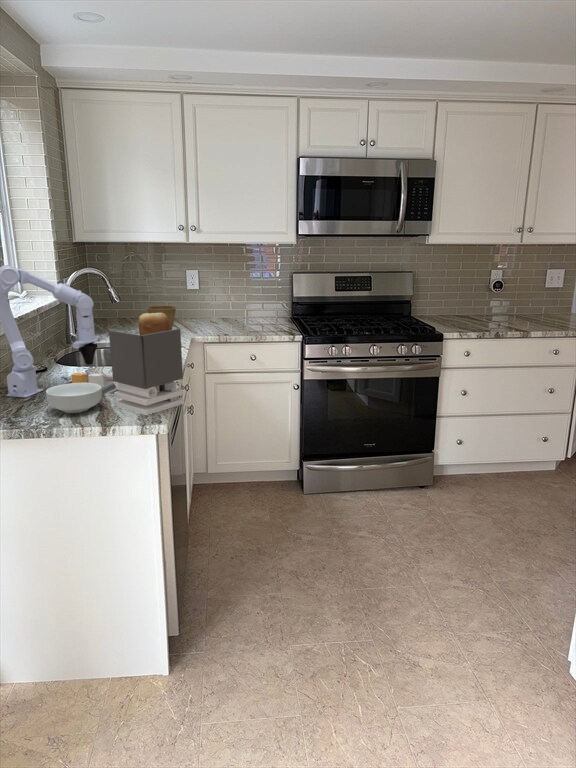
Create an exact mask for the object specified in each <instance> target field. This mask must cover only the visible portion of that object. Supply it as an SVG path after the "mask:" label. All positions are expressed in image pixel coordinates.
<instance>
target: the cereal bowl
mask: <svg viewBox="0 0 576 768" xmlns="http://www.w3.org/2000/svg"><path fill="white" fill-rule="evenodd" d="M102 395H103V394H102V387H101V386H100V385H98V384H94V383H70V384H66V383H63V384H58V385H55V386H51V387H49V388H47V389H46V391H45V396H46V397H45V398H46V401H47V403H48V404H49V405H50V407H52V408H53V409H55V410H58V411H62V412H63V413H66V414H78V413H83V411H84V412H86V411H88V410H89V409H91V408H92V407H94V406H96V405H98V403H100V402H101V400H102V399H101V398H102Z"/></svg>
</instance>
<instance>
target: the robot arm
mask: <svg viewBox="0 0 576 768" xmlns="http://www.w3.org/2000/svg"><path fill="white" fill-rule="evenodd" d="M18 283H19V284H21V285H22V284H23V285H24V284H30V285H33V286H35V287H37V288H40V289H43V290H44V291H47V292H50V293H51V294H52V295H53V298H54V299H56V300H58V301H60V302H62V303H65V304H67V305H70V306H74V307H75V310H76V312H75V313H76V316H75V318H76V329H77V336H78V337H77V338H78V339H77V340H75V341H74V342H73V343H72V348H73V349H76V350H77V349H78V351H79V352H80V354H81V355H82V358H83V360H84V364H85V365H93V364H94V358H95V353H96V350H97V348H98V344H97V343H98V342H101V341H102V340H101V336H100V335H96V334H95V323H94V314H93V308H94V305H95V304H94V302H93V301H94V300H93V299H92V297H91V296H89V295H88V294H86V293H85V292H82V290H80V289H78V290H77V289H74V288H73V287H70V286H69V284H68V283H65V282H64V283H57V284H56V283H55V284H54V283H53V282H51V281H50V280H49V281H48V280H46V279H45V278H43V277H40V276H39V275H36V274H34V273H32V272H30V271H28V270H24V269H21V268H18V267H16V268H15V267H14V266H12V265H9V264H5V265H1V266H0V325H1V327H2V329H3V332H4V334H5V337H6V339H7V341H8V344H9V347H10V349H11V360H12V362H13V366H12V369H11V372H10V373H8V375H7V376H6V383H7V391H8V392H7V393H8V394H6V396H7V397H14V398H17V397H18V398H29V397H31V396H33V395H36V394H38V393H40V392H42V391H44V389H43V388H38V382H37V374H36V366H35V365H34V361H35V360H34V357H33V355H32V353H31V351H30V350H29V349H28V348H26V344H25V342H24V340H23V337H22V334H21V333H20V329H19V327H18V324H17V321H16V319H15V316H14V313H13V311H12V309H11V306H10V303H9V301H8V299H7V296H8V294H9V293H10V291H11V289H12V288H13V287H15V286H16V285H17V284H18ZM96 342H97V343H96Z"/></svg>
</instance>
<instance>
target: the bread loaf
mask: <svg viewBox="0 0 576 768" xmlns="http://www.w3.org/2000/svg"><path fill="white" fill-rule="evenodd" d="M169 330H170V325H169V321H168V318H167V316H166V315H165V314H163V313H148V312H145V313H142V314H141V315H139V317H138V333H139V334H138V335H146V334H152V333H158V332H163V331H169Z"/></svg>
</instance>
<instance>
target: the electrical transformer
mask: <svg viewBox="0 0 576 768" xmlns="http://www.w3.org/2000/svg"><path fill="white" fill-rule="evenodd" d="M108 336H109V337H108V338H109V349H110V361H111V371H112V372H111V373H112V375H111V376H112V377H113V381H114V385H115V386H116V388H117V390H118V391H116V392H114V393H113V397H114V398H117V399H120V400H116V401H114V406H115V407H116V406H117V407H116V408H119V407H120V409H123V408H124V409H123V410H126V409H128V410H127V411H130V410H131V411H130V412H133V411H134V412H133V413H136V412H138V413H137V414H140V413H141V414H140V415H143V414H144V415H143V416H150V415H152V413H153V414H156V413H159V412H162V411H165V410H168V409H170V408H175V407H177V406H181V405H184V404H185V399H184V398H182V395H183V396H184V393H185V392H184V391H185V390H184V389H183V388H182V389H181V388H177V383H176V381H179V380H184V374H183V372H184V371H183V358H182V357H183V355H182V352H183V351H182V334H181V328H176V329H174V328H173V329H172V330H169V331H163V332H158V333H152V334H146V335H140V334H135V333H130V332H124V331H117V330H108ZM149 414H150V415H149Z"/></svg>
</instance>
